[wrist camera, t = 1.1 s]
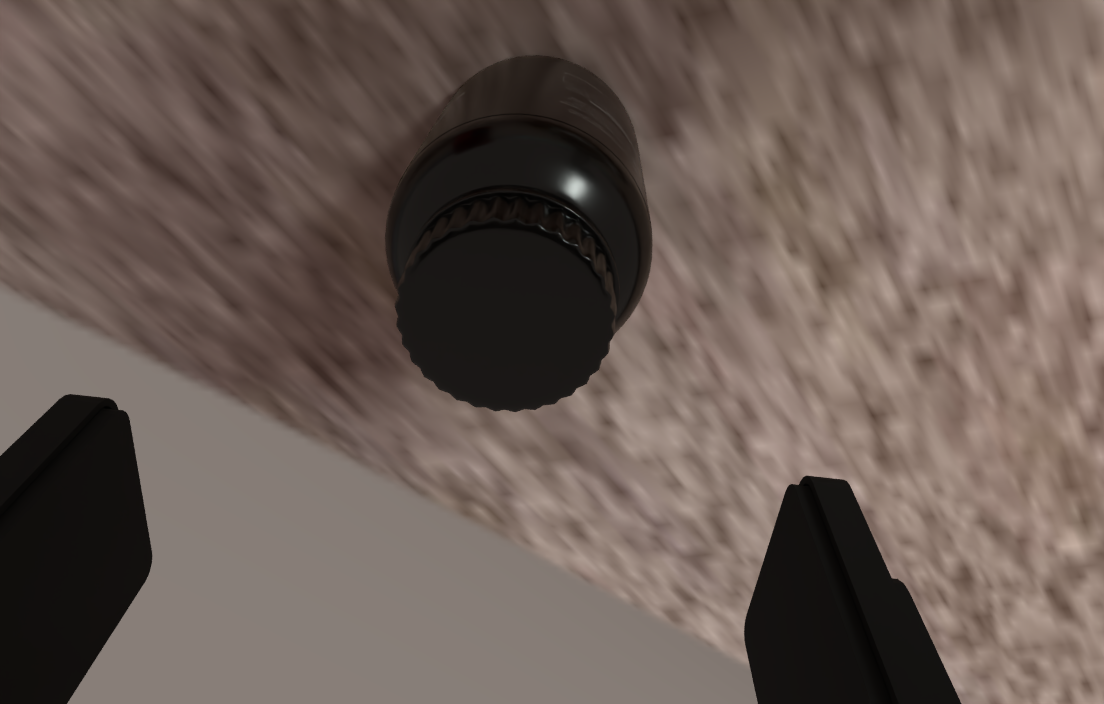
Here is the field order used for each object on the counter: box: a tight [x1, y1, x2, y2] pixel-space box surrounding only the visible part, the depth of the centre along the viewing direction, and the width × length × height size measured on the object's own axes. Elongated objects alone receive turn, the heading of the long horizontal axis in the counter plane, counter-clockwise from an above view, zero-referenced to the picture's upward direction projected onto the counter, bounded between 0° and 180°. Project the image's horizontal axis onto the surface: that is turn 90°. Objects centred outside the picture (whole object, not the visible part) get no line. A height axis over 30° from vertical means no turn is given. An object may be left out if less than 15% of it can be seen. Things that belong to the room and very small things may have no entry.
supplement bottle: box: [385, 55, 652, 412], centre depth 23 cm, size 7×7×12 cm
